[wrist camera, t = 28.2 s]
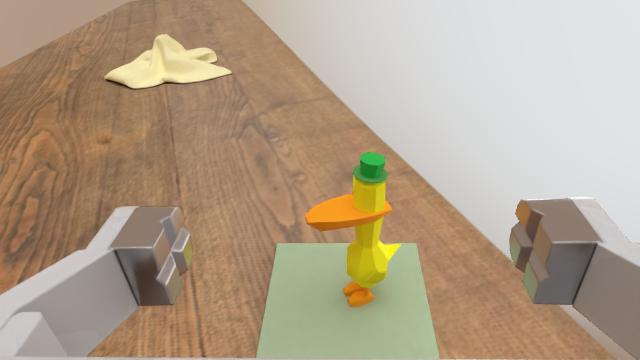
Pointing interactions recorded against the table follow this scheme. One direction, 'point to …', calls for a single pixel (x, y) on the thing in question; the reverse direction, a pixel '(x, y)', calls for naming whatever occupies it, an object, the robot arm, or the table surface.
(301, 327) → the felt mat
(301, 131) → the table surface
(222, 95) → the table surface
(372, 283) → the toy figure
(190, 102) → the table surface
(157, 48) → the cloth
